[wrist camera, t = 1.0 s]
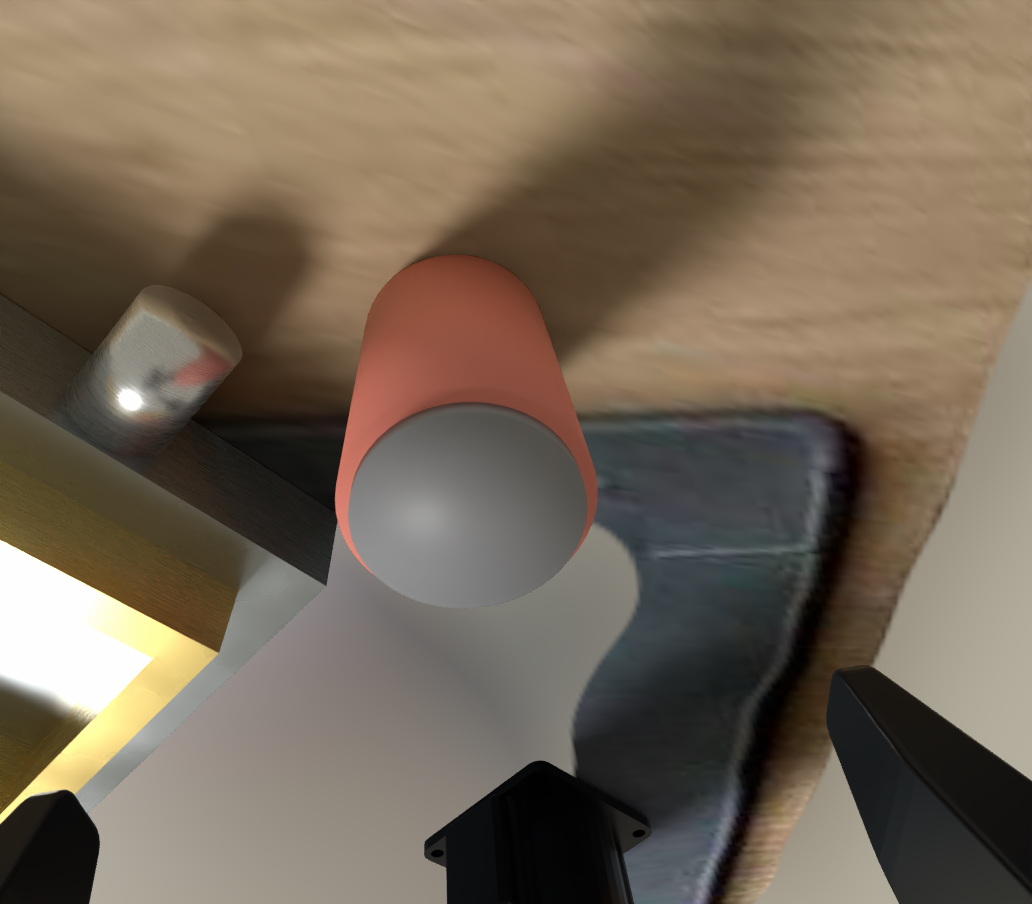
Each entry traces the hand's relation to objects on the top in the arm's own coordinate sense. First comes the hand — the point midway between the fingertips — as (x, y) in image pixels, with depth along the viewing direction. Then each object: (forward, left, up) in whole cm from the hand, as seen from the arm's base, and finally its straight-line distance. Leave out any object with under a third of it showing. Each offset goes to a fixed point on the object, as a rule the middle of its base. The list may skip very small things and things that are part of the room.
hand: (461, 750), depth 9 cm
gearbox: (+5, +10, -12) cm, 16 cm away
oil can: (0, 0, -12) cm, 12 cm away
